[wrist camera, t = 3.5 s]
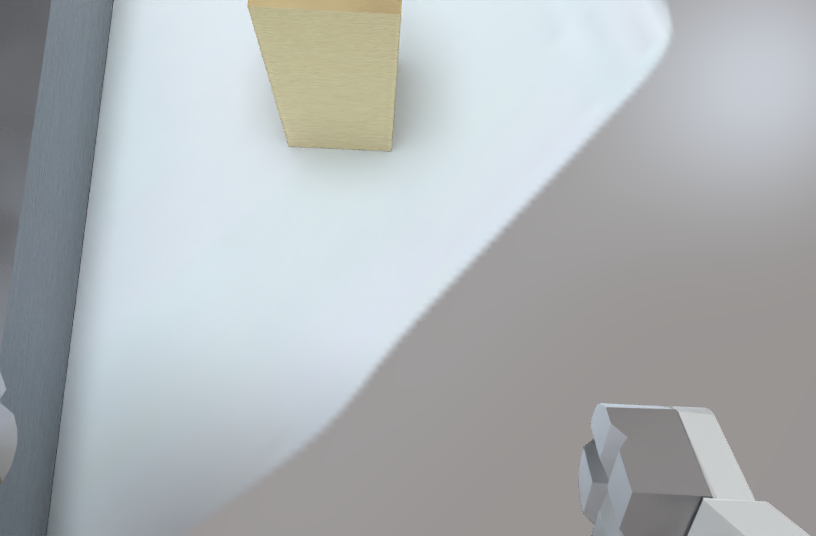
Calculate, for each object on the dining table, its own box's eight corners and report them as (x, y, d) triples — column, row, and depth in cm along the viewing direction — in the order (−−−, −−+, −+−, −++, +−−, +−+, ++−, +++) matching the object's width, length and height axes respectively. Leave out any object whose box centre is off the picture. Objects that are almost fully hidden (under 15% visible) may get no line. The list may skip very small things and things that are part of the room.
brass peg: (391, 151, 30) (400, 14, 20) (288, 146, 29) (247, 5, 20) (394, 57, 30) (405, -119, 21) (295, 52, 30) (258, -128, 20)
